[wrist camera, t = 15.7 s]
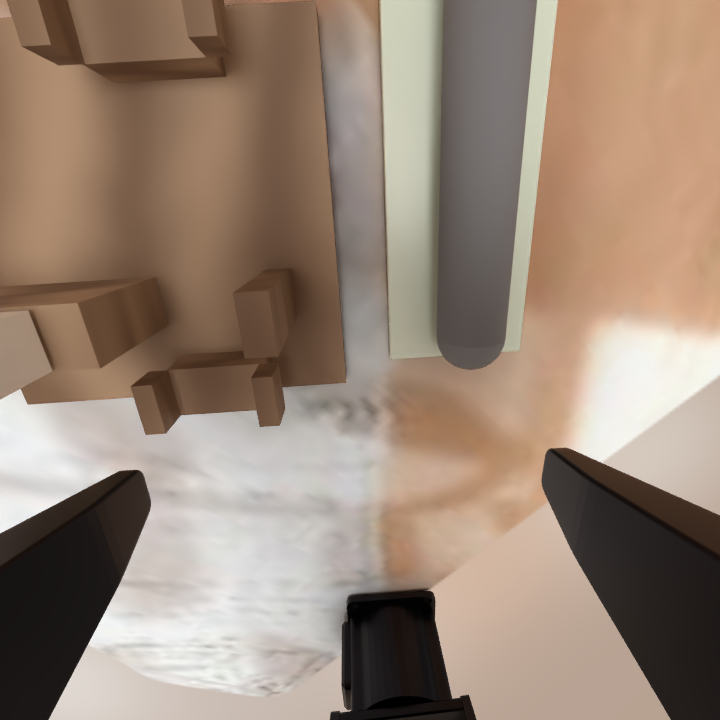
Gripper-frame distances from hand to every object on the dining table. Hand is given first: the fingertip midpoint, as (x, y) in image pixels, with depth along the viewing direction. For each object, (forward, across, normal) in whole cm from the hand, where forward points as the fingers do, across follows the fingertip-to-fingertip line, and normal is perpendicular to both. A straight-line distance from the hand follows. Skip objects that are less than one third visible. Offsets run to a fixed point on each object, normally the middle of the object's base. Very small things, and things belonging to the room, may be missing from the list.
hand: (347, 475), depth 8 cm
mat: (+12, -6, -7) cm, 15 cm away
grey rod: (+10, -6, -7) cm, 14 cm away
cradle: (+12, +9, -5) cm, 16 cm away
